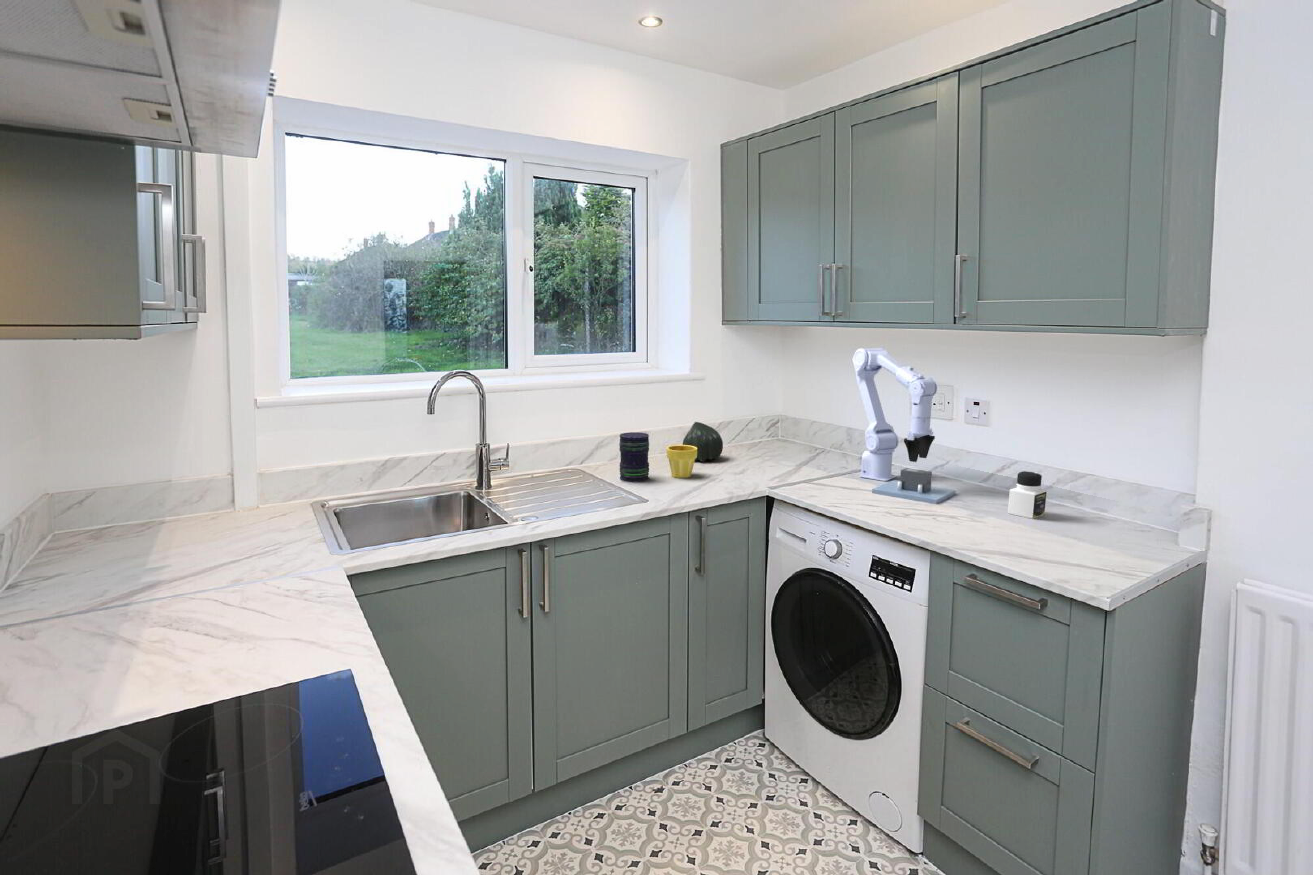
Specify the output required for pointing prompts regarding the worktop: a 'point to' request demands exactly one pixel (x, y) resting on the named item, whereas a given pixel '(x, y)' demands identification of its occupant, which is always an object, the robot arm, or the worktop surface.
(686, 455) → the plant pot
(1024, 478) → the medicine bottle
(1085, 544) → the worktop surface
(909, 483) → the grey notched block
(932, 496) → the tray
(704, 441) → the squash
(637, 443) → the storage jar
